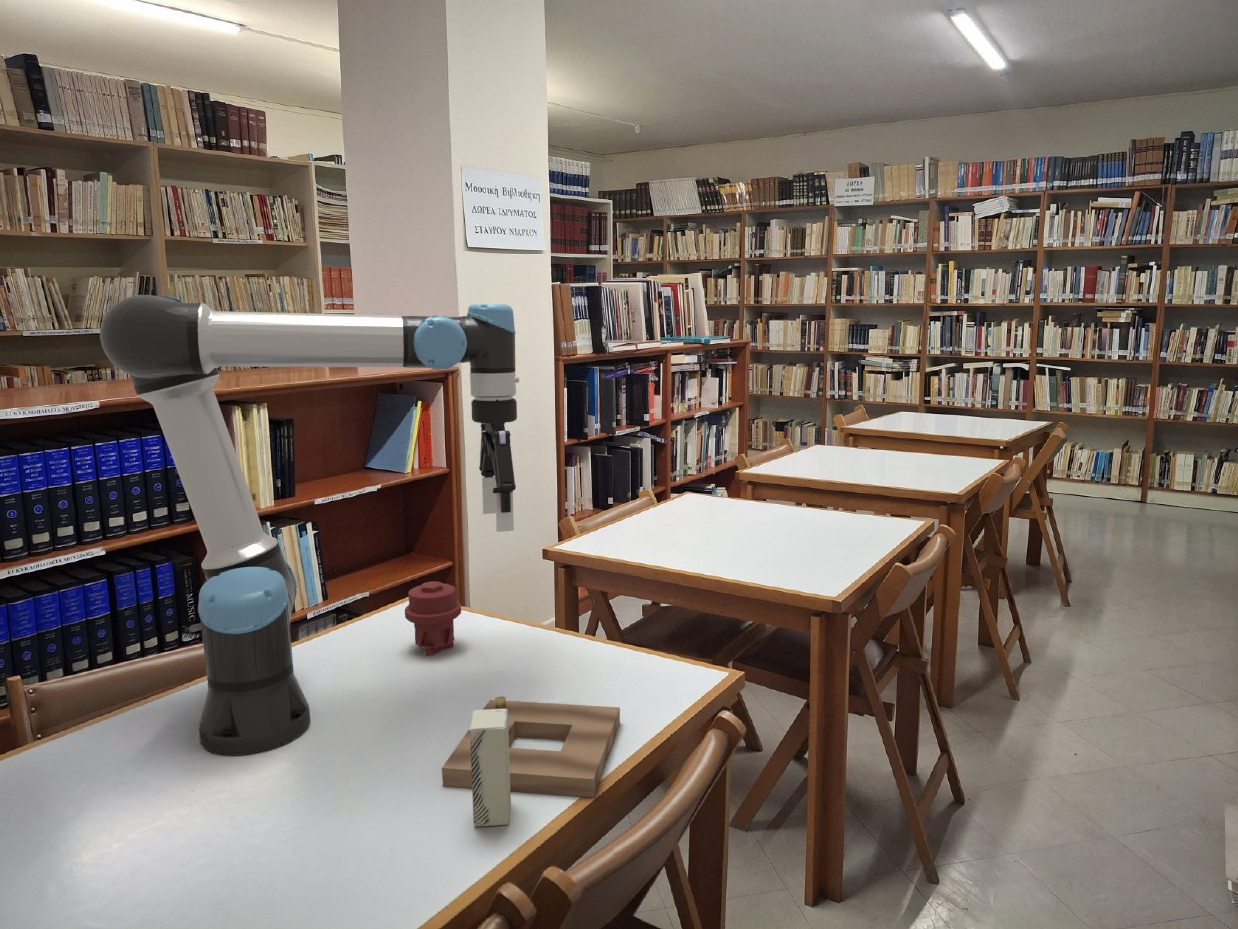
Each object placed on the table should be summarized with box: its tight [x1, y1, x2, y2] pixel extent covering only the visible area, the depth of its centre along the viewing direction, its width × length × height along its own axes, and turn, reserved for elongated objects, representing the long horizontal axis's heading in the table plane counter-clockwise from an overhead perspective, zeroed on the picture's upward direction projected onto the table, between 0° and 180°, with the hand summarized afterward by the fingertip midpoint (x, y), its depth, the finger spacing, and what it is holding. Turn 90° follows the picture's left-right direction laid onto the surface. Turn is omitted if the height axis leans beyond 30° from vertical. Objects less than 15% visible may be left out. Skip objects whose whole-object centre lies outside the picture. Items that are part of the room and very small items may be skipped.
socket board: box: [441, 695, 621, 798], centre depth 119 cm, size 20×20×4 cm
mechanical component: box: [404, 580, 462, 657], centre depth 156 cm, size 12×10×10 cm
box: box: [469, 709, 512, 827], centre depth 103 cm, size 5×4×13 cm
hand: (497, 521), depth 147 cm, fingers open, 13 cm apart
